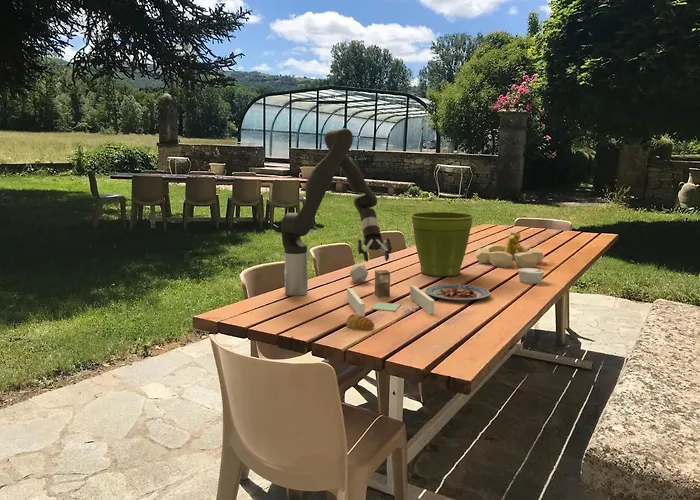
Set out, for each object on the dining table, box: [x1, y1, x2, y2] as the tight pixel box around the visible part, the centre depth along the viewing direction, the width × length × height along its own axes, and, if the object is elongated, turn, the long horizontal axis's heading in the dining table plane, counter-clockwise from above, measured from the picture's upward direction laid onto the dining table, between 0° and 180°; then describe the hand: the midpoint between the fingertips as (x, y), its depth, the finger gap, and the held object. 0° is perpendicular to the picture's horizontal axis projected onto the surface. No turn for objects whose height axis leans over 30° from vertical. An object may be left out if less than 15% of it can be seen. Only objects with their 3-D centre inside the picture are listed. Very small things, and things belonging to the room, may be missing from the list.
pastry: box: [345, 313, 375, 331], centre depth 179 cm, size 9×7×4 cm
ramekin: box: [517, 267, 545, 285], centre depth 248 cm, size 11×11×5 cm
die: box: [349, 264, 369, 283], centre depth 247 cm, size 8×9×10 cm
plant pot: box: [410, 211, 474, 277], centre depth 264 cm, size 30×30×29 cm
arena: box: [346, 285, 436, 318], centre depth 204 cm, size 27×24×5 cm
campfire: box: [474, 232, 545, 269], centre depth 294 cm, size 35×34×17 cm
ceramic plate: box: [425, 283, 491, 302], centre depth 221 cm, size 26×26×3 cm
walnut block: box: [374, 269, 391, 298], centre depth 221 cm, size 5×5×10 cm
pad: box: [371, 302, 402, 312], centre depth 204 cm, size 9×9×1 cm
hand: (377, 260), depth 228 cm, fingers open, 8 cm apart
